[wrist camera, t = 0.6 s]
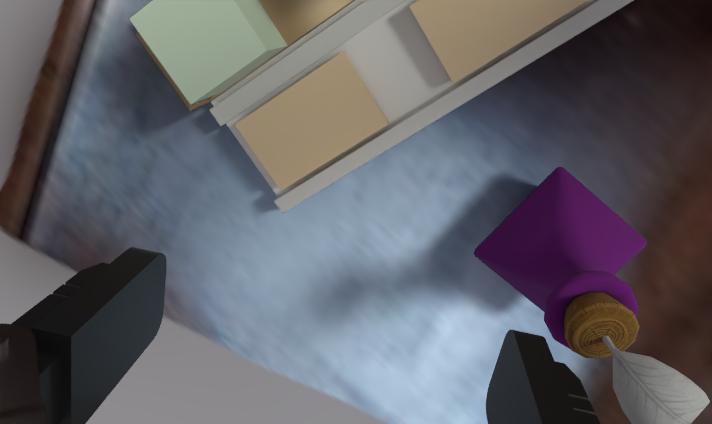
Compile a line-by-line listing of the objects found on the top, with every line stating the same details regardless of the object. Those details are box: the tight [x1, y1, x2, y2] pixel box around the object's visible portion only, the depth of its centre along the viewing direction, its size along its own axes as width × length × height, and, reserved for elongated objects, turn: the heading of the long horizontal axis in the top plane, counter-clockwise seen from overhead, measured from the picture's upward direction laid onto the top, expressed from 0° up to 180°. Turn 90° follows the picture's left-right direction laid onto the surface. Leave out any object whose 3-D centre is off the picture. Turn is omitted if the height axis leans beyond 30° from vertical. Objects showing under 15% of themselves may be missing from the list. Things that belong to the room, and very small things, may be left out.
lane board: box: [210, 0, 634, 213], centre depth 32 cm, size 25×15×2 cm, turn 123°
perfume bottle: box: [474, 167, 710, 424], centre depth 28 cm, size 8×8×18 cm
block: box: [129, 0, 288, 104], centre depth 30 cm, size 5×5×5 cm
